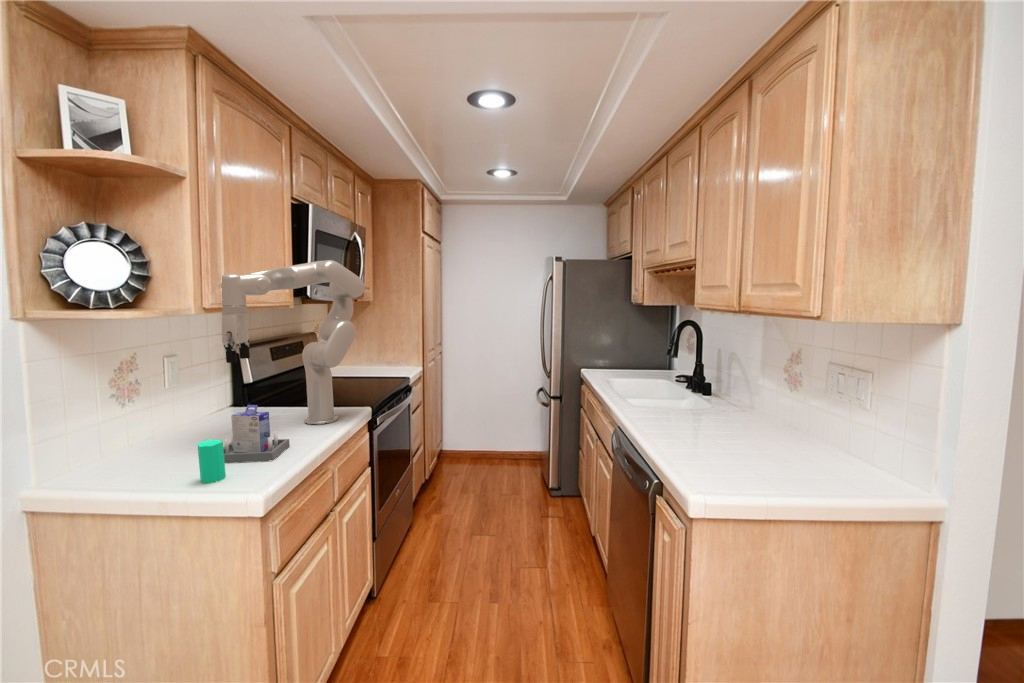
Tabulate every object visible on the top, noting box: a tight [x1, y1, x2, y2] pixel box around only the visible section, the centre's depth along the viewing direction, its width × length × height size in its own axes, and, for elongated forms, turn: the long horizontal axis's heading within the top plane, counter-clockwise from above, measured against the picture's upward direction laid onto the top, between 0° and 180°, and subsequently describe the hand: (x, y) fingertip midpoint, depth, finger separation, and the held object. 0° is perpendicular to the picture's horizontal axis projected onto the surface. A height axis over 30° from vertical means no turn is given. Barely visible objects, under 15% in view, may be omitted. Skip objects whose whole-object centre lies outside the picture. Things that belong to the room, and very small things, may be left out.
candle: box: [197, 438, 227, 484], centre depth 136 cm, size 6×6×12 cm
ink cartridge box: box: [230, 404, 271, 453], centre depth 157 cm, size 10×6×14 cm, turn 82°
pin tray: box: [223, 432, 291, 464], centre depth 157 cm, size 14×18×6 cm
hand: (238, 360), depth 170 cm, fingers open, 9 cm apart
